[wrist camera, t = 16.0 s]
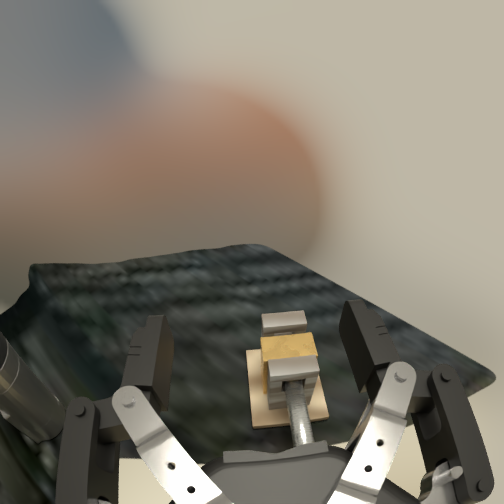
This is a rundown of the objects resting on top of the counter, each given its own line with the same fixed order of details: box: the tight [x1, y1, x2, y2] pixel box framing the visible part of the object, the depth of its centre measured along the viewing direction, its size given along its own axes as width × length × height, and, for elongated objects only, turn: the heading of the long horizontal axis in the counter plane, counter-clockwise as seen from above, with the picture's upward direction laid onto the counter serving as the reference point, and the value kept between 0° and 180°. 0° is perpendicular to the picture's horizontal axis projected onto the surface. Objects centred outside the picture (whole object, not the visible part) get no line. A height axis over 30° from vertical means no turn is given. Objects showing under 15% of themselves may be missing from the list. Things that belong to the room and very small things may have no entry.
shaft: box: [283, 379, 314, 447], centre depth 26 cm, size 18×3×15 cm, turn 4°
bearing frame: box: [246, 310, 329, 429], centre depth 40 cm, size 14×11×11 cm
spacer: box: [261, 332, 318, 394], centre depth 40 cm, size 4×7×9 cm, turn 94°
